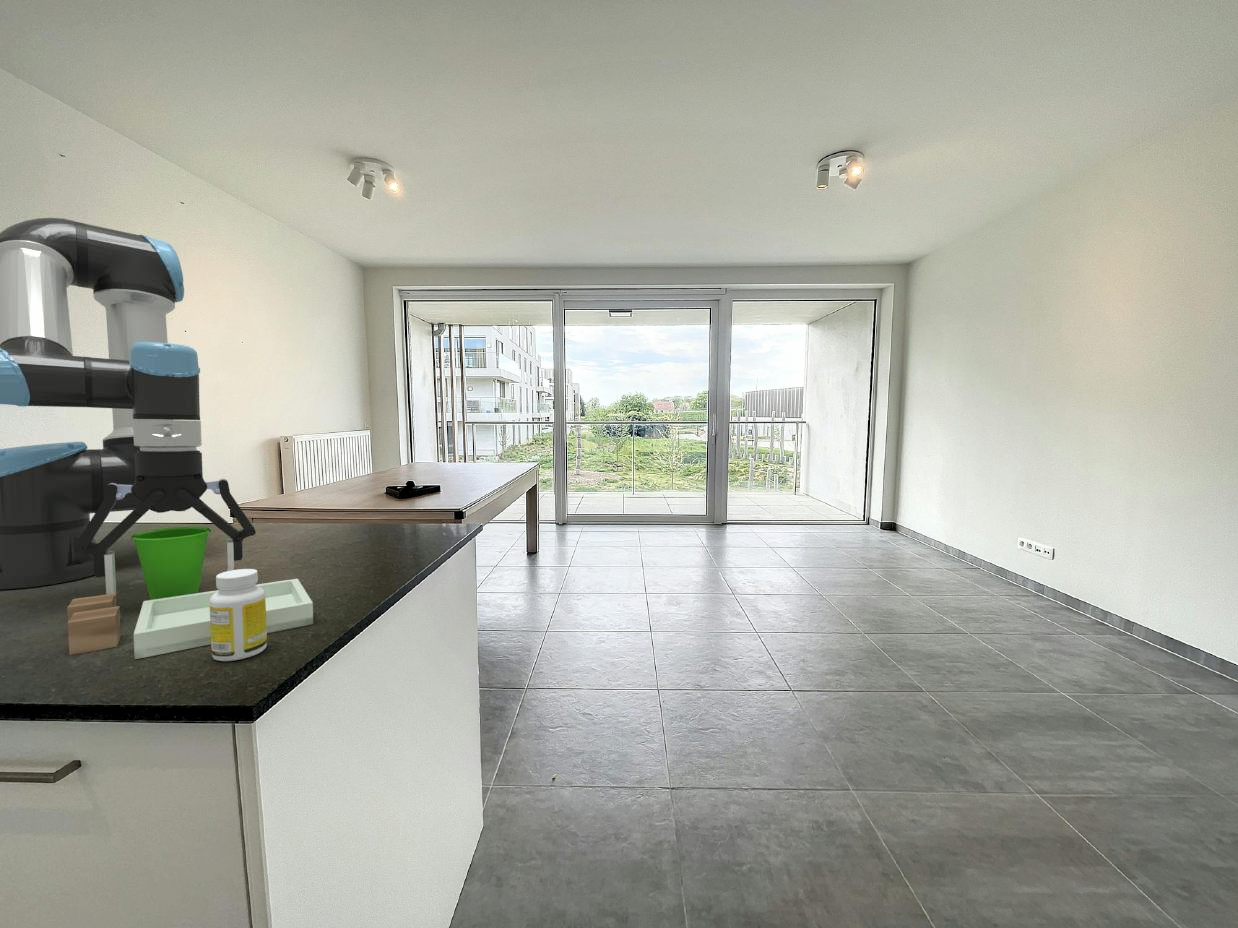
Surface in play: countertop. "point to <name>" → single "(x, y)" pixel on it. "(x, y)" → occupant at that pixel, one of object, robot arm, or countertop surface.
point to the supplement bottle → (237, 616)
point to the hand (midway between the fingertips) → (174, 589)
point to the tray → (189, 618)
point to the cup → (172, 560)
